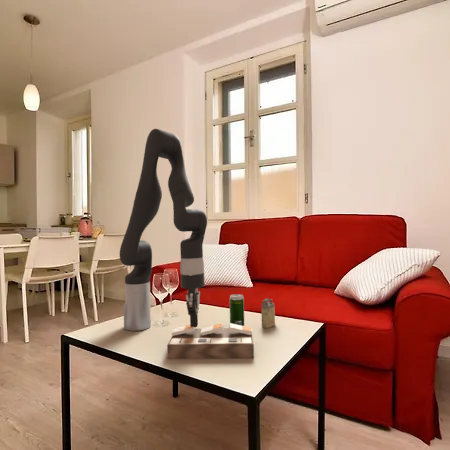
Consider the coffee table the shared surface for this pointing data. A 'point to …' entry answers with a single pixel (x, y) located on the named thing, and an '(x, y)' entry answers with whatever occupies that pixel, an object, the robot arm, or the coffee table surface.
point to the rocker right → (240, 329)
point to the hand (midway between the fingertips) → (194, 326)
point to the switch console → (211, 345)
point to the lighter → (268, 313)
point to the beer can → (237, 309)
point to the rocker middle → (212, 329)
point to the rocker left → (183, 330)
